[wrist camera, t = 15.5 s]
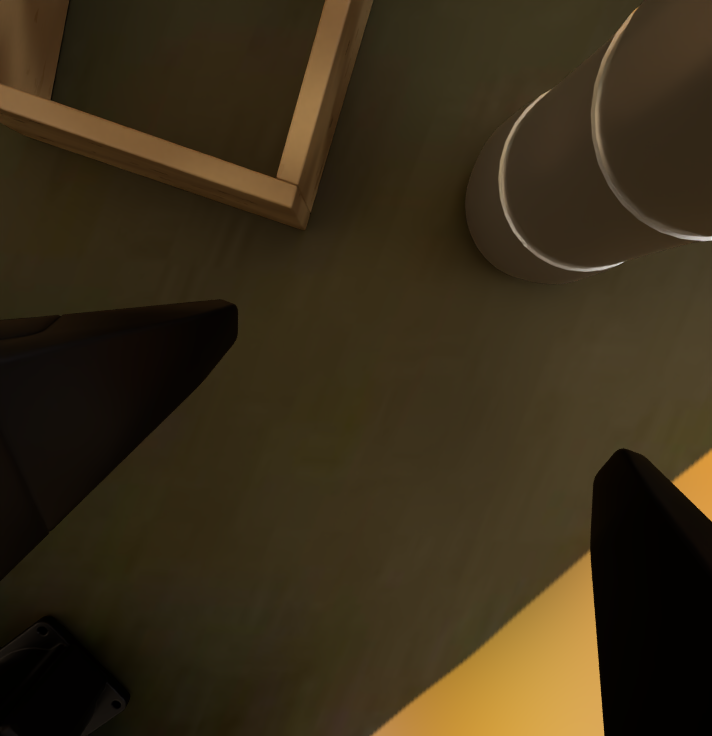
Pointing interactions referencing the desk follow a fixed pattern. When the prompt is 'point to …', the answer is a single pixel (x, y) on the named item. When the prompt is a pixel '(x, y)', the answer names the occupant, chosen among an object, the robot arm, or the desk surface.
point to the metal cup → (604, 155)
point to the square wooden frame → (166, 159)
